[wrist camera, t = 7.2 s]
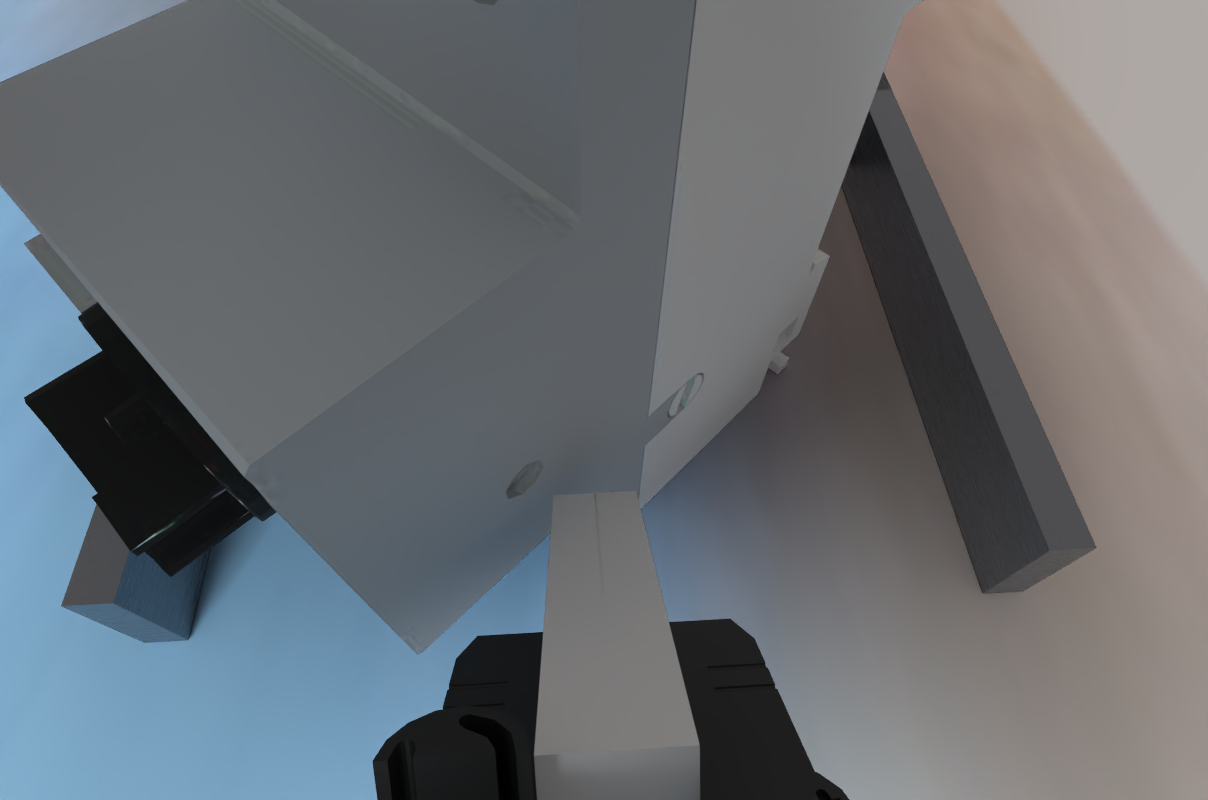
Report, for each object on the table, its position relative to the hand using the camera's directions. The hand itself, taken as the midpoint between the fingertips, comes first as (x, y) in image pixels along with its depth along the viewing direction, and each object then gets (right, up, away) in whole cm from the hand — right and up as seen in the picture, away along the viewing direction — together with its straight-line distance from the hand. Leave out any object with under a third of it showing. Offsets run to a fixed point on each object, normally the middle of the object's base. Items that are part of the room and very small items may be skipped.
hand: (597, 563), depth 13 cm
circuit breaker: (-2, +2, +7) cm, 7 cm away
